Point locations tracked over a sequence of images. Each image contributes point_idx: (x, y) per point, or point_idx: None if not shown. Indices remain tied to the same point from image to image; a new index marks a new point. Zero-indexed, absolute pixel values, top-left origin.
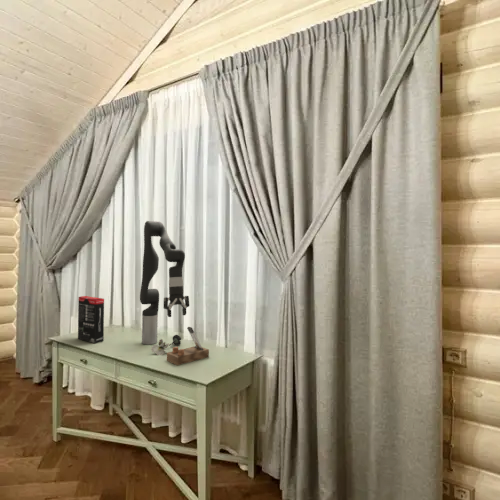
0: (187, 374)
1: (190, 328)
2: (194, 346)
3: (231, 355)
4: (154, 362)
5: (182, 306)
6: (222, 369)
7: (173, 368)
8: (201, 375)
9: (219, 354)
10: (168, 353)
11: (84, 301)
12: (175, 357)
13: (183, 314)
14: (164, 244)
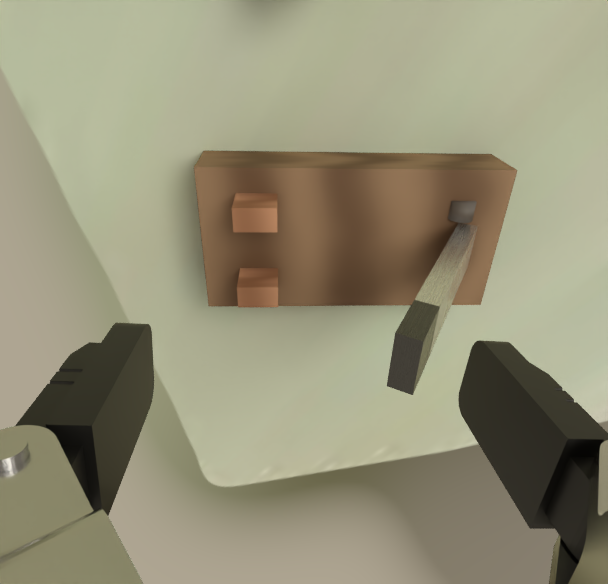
0: (193, 402)
1: (394, 384)
2: (479, 171)
3: (566, 337)
4: (106, 127)
5: (602, 504)
6: (358, 440)
7: (172, 304)
8: (239, 439)
9: (544, 282)
10: (197, 192)
11: None
12: (207, 283)
13: (473, 379)
14: None
